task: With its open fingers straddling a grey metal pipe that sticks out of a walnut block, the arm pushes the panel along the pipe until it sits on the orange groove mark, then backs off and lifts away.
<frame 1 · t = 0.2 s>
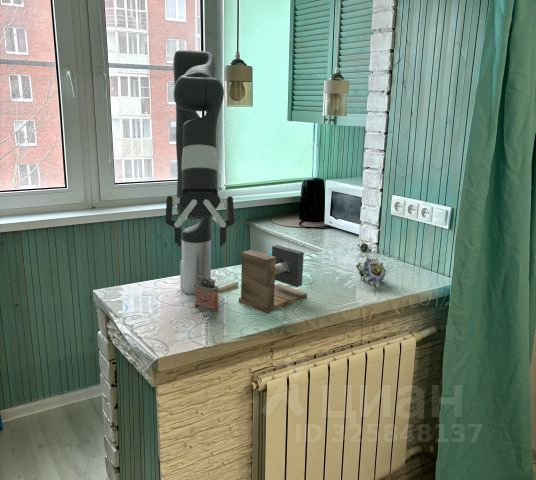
hand: (200, 246, 109), 31 cm above the worktop, tool tilted 20°, fingers open, 8 cm apart
panel: (286, 265, 167), point 10 cm above the worktop, slide at 0.0 cm
mug: (283, 276, 188), on the worktop
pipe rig: (273, 299, 165), on the worktop
lighter: (206, 309, 157), on the worktop
passion flower: (369, 284, 183), on the worktop
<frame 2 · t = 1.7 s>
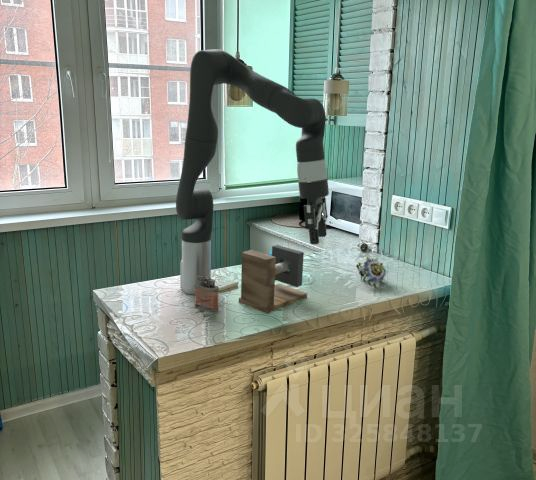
hand: (318, 240, 137), 26 cm above the worktop, tool pointing down, fingers open, 8 cm apart
nothing on the worktop moved.
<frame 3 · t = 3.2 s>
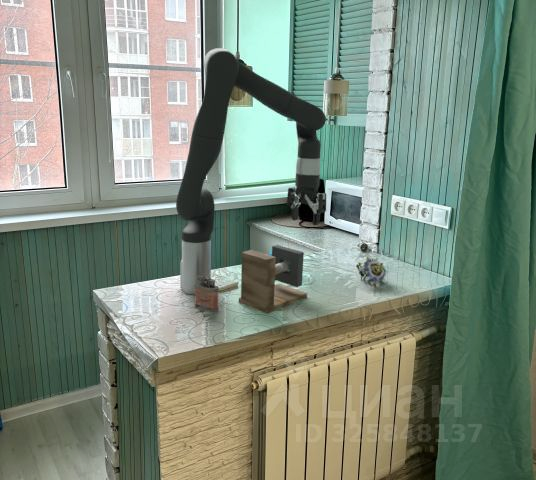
hand: (305, 222, 169), 23 cm above the worktop, tool pointing down, fingers open, 8 cm apart
nothing on the worktop moved.
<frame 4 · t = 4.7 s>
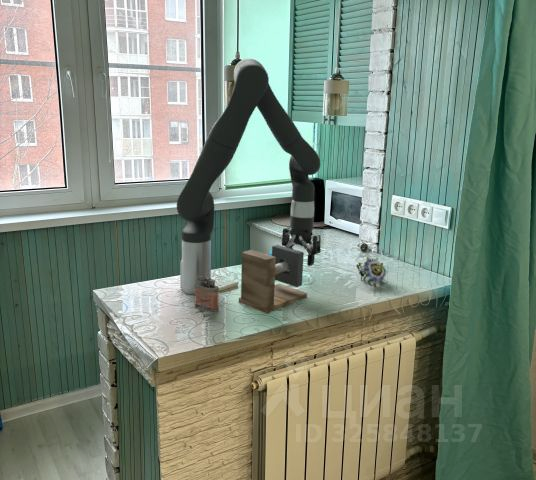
hand: (299, 262, 172), 10 cm above the worktop, tool pointing down, fingers open, 8 cm apart
nothing on the worktop moved.
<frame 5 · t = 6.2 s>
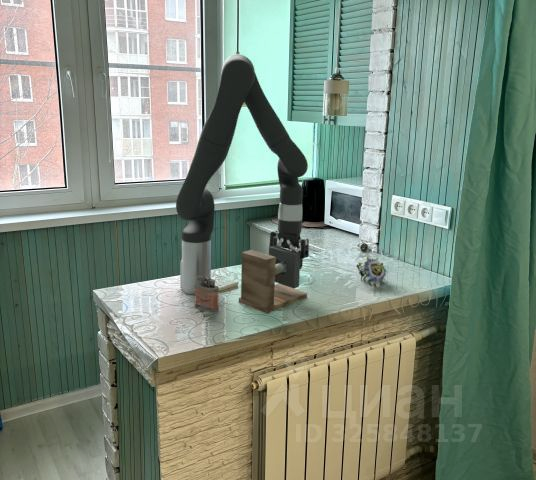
hand: (287, 266, 168), 10 cm above the worktop, tool pointing down, fingers open, 8 cm apart
panel: (283, 266, 166), point 10 cm above the worktop, slide at 1.6 cm, touching gripper
everything else where it was.
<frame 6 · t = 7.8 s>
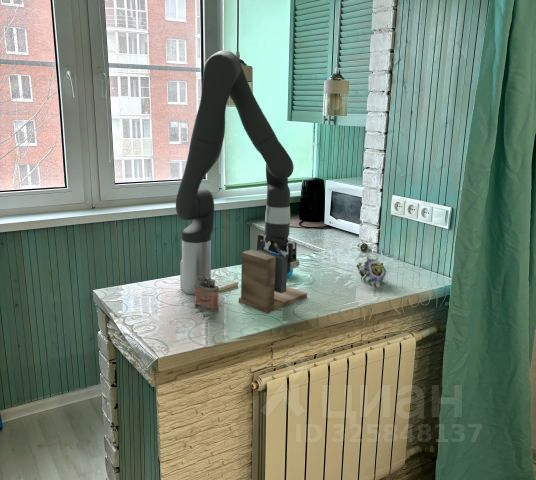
hand: (275, 270, 163), 10 cm above the worktop, tool pointing down
panel: (270, 271, 162), point 10 cm above the worktop, slide at 7.7 cm, touching gripper
everything else where it was.
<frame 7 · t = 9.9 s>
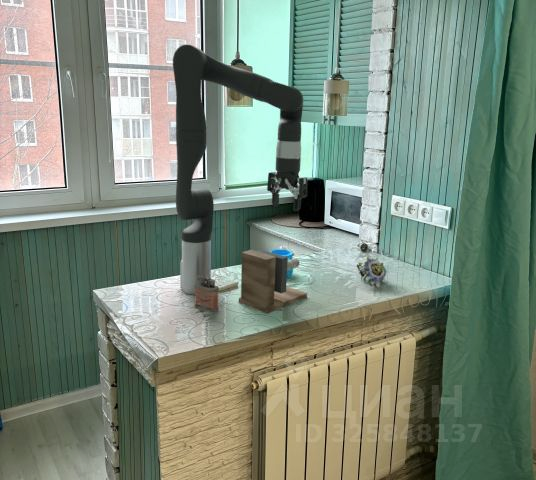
hand: (285, 208, 163), 28 cm above the worktop, tool pointing down, fingers open, 8 cm apart
panel: (270, 271, 162), point 10 cm above the worktop, slide at 7.7 cm
everything else where it was.
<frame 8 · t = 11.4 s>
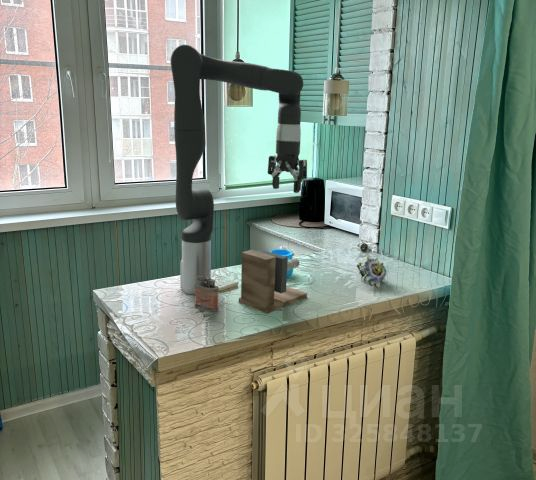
hand: (286, 190, 167), 33 cm above the worktop, tool pointing down, fingers open, 8 cm apart
nothing on the worktop moved.
at the end: panel slide at 7.7 cm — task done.
